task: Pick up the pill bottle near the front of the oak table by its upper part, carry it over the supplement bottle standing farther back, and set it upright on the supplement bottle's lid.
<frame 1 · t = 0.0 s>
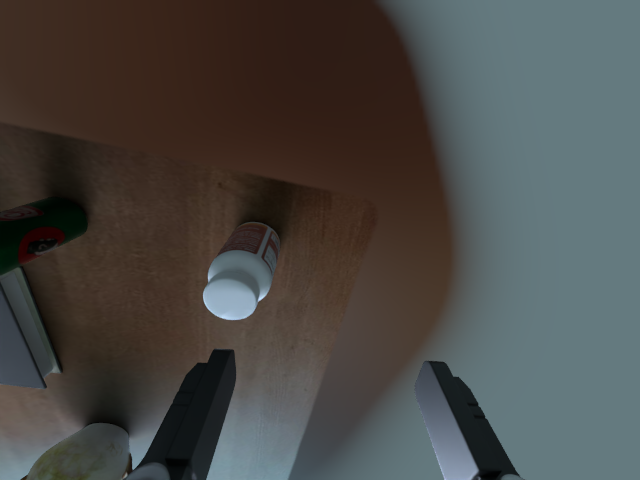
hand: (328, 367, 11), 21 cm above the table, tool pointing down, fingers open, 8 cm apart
pill bottle: (257, 242, 32), on the table
sugar bowl: (109, 432, 51), on the table
soda can: (70, 215, 30), on the table
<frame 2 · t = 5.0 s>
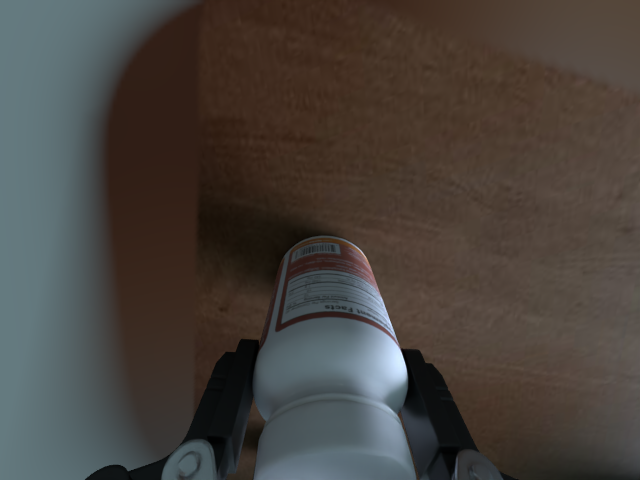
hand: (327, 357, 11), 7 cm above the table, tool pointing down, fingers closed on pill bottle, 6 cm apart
pill bottle: (324, 271, 17), on the table, touching gripper
when the fingers open (17 cm above the table, at t = 12.5 s): pill bottle stays where it is, resting on supplement bottle.
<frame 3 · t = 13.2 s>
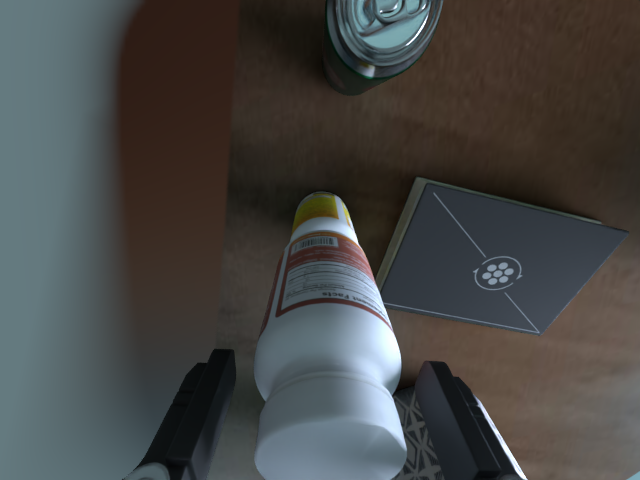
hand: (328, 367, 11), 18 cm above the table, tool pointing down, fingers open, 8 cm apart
pill bottle: (322, 265, 18), point 10 cm above the table, touching supplement bottle
supplement bottle: (321, 214, 27), on the table, touching pill bottle
soda can: (351, 61, 21), on the table
book: (475, 257, 29), on the table
planter: (419, 407, 43), on the table
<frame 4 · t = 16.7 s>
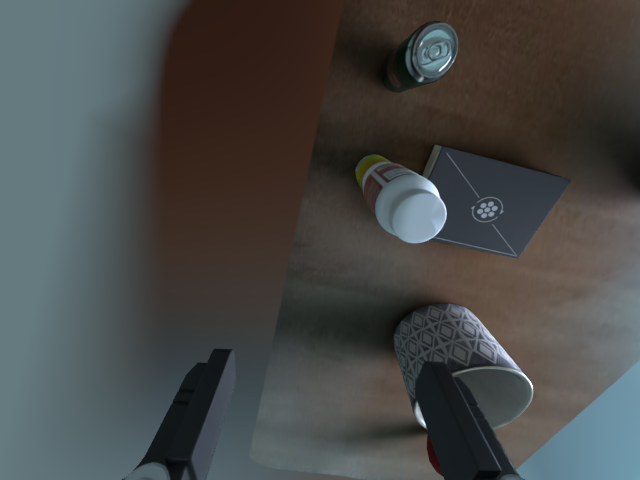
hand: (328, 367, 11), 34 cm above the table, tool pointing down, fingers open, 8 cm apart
pill bottle: (386, 186, 31), point 10 cm above the table, touching supplement bottle
supplement bottle: (371, 171, 41), on the table, touching pill bottle
apple: (437, 426, 74), on the table
soda can: (398, 71, 35), on the table
book: (472, 203, 43), on the table
planter: (431, 328, 56), on the table
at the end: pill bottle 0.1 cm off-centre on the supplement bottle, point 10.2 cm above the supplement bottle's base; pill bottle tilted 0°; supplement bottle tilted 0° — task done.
